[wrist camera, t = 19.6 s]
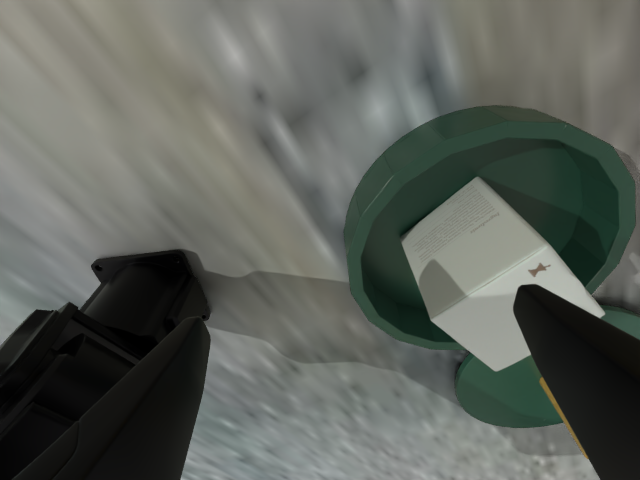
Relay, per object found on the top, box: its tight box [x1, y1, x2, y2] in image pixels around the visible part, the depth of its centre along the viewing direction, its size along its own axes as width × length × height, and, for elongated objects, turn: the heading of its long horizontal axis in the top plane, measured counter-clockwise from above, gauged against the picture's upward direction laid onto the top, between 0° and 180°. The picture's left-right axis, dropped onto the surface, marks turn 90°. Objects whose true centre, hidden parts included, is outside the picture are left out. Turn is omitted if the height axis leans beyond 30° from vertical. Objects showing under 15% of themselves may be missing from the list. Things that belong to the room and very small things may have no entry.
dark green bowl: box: [344, 105, 636, 350], centre depth 21 cm, size 16×16×4 cm
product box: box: [400, 177, 605, 371], centre depth 19 cm, size 6×6×7 cm
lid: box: [455, 305, 640, 459], centre depth 27 cm, size 17×17×7 cm
